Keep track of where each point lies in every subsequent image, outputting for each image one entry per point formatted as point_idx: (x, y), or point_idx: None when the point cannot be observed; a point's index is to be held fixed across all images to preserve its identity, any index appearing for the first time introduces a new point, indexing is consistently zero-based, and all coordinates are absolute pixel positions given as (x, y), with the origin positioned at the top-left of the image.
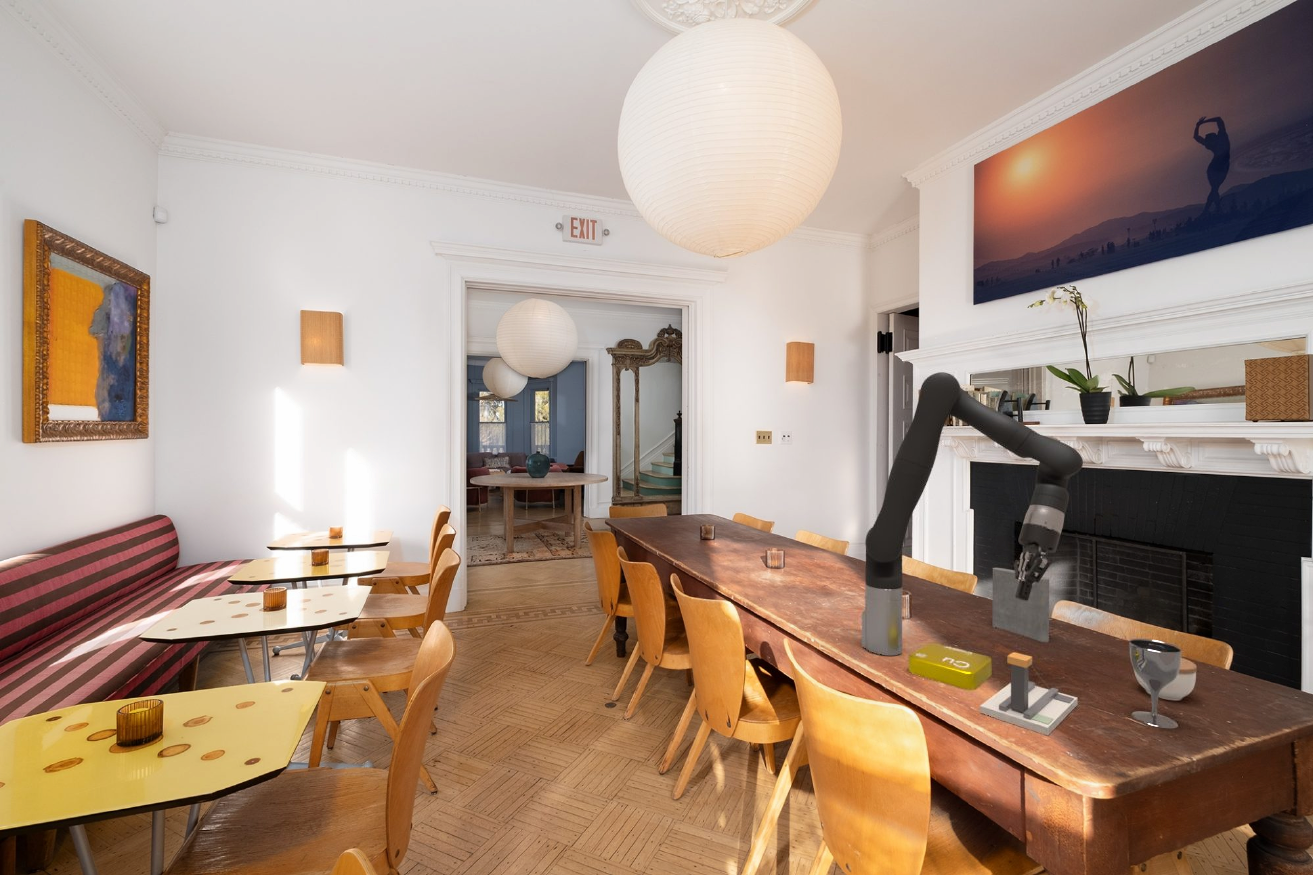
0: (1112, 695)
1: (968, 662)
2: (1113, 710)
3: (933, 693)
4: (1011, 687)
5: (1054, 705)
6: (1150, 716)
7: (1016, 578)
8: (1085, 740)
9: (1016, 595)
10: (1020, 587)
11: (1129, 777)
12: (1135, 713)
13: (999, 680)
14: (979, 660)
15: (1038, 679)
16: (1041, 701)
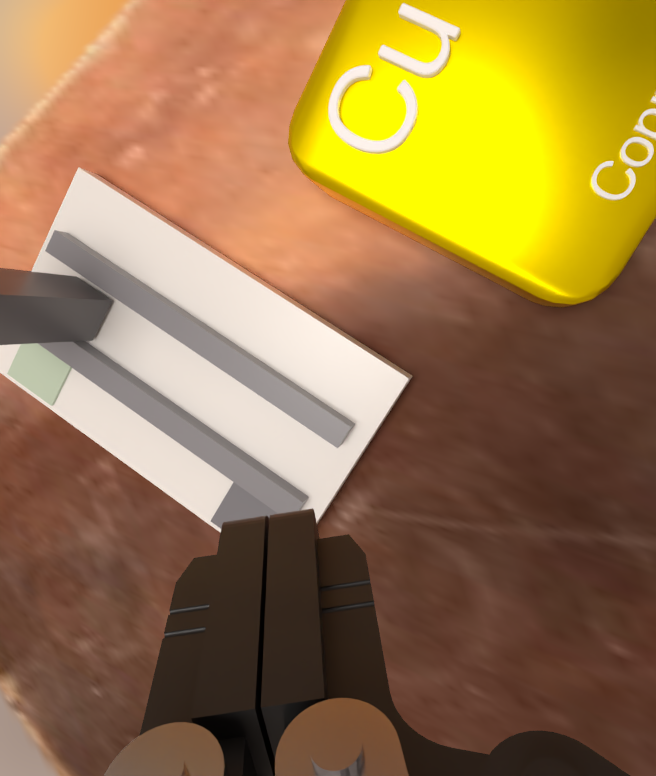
0: None
1: (441, 158)
2: None
3: (219, 3)
4: (14, 271)
5: (174, 454)
6: None
7: (512, 745)
8: (19, 467)
9: (275, 517)
10: (210, 621)
11: None
12: None
13: (473, 327)
14: (496, 226)
15: (546, 517)
16: (140, 405)
